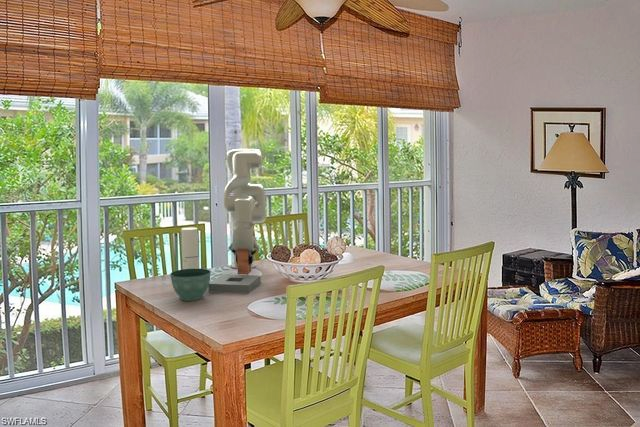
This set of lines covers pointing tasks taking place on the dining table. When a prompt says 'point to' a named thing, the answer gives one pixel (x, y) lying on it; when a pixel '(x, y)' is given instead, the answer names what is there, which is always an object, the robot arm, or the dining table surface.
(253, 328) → the dining table surface
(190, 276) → the green bowl
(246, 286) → the socket block
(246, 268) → the peg
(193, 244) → the cylindrical container
